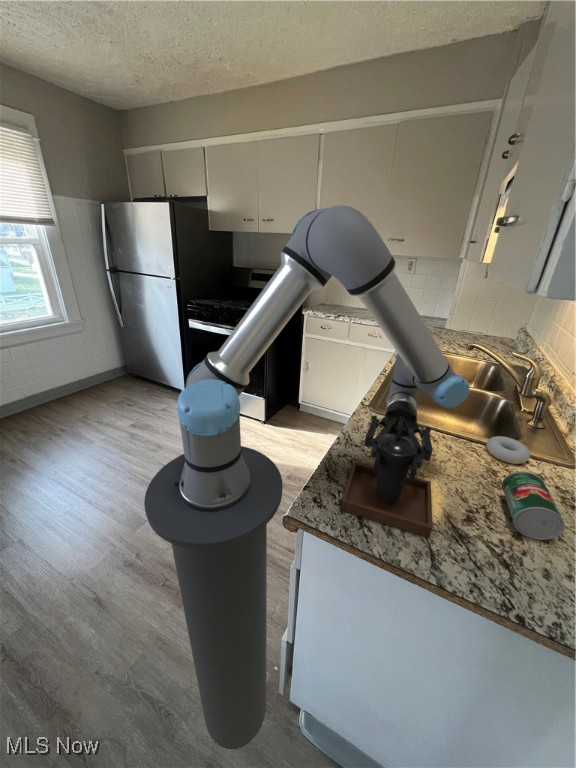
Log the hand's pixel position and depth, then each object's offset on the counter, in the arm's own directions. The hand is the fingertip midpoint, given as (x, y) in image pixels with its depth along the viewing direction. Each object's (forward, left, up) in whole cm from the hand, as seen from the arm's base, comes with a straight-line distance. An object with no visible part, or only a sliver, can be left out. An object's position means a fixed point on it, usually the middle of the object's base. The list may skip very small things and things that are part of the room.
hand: (394, 470), depth 60 cm
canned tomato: (+28, +17, -8) cm, 34 cm away
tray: (0, +5, -12) cm, 13 cm away
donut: (+29, +35, -13) cm, 47 cm away
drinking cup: (0, +5, -11) cm, 12 cm away
